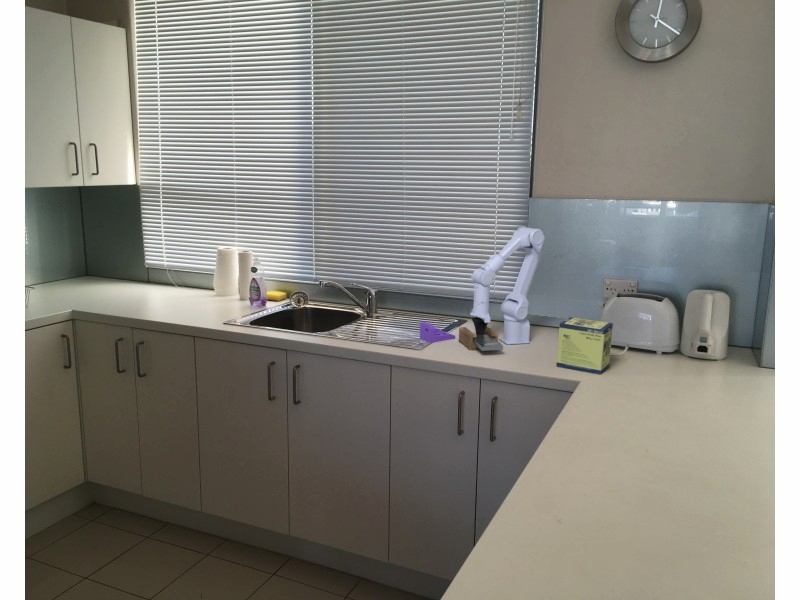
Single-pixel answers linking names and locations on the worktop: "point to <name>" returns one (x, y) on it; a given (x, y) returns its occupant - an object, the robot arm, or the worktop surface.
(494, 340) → the cover plate
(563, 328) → the protein box
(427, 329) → the bracket
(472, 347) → the sleeve box
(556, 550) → the worktop surface
